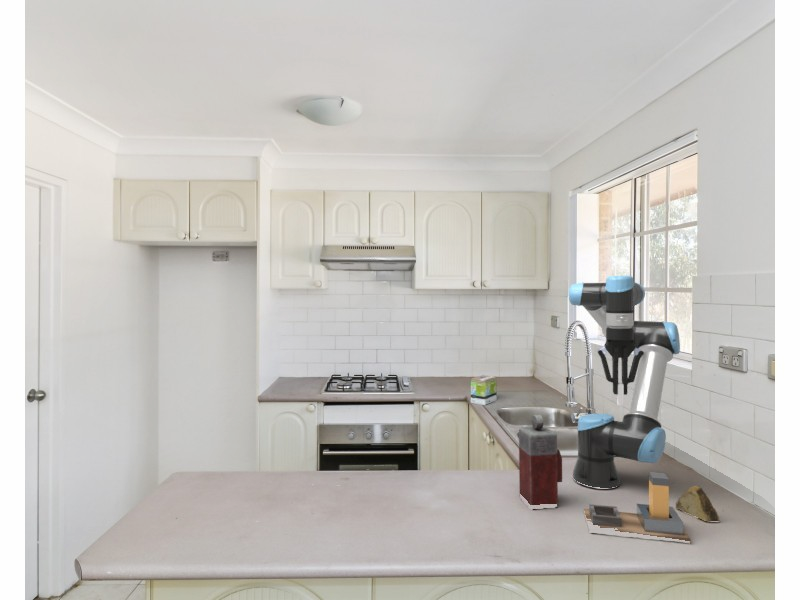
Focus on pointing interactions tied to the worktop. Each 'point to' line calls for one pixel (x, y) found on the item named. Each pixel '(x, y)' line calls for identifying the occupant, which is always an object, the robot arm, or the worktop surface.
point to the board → (622, 521)
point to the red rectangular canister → (539, 463)
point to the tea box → (483, 389)
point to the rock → (697, 504)
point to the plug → (658, 495)
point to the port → (659, 521)
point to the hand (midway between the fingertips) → (620, 405)
